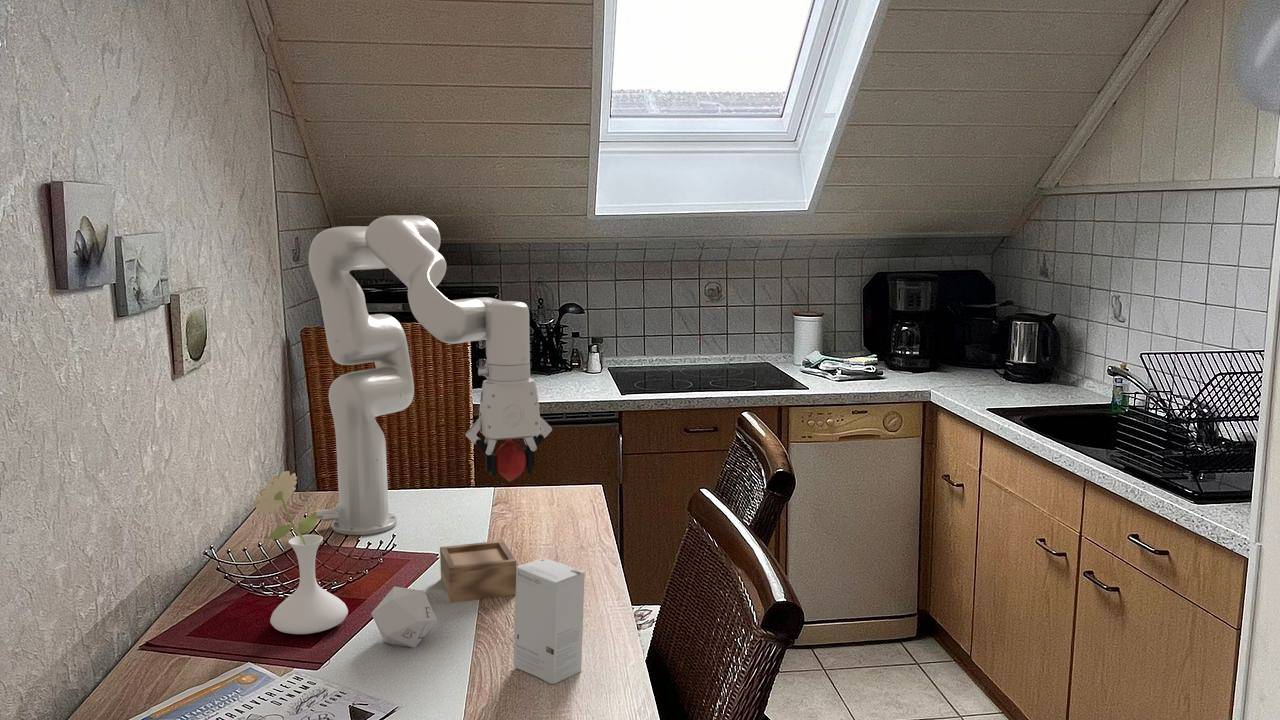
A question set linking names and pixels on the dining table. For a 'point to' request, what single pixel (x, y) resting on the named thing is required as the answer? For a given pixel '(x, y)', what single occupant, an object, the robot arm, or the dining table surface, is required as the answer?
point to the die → (404, 616)
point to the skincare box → (548, 620)
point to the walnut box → (478, 571)
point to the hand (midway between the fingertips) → (510, 472)
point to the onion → (510, 460)
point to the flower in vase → (300, 568)
